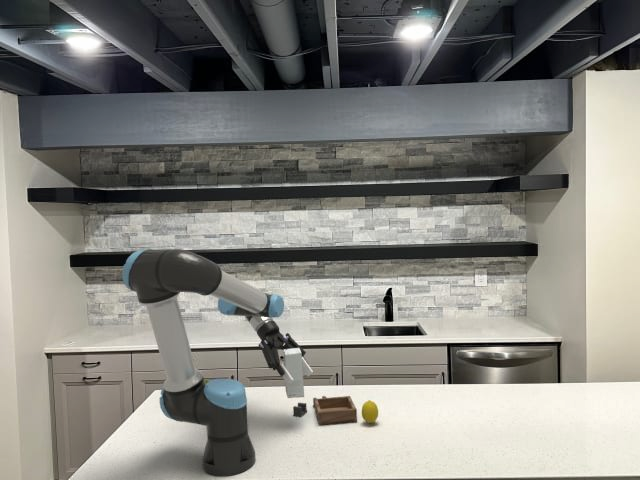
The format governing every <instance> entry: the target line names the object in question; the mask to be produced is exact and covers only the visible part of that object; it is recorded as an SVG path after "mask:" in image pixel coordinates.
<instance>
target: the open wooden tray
mask: <svg viewBox="0 0 640 480" xmlns="http://www.w3.org/2000/svg"><path fill="white" fill-rule="evenodd" d="M314 400H315V409H314V411H315V413H314V414H315V417H316V419H317V424H318V426H319V427H323V426H325V427H326V426H331V425H332V426H334V425H344V424H354V423H358V412H357V411H358V410H357V408H356V405H355V403H354V402H353V400H352V398H351V396H350V395H347V396H346V395H343V396H334V397H327V398H322V397H321V398H317V399H314Z"/></svg>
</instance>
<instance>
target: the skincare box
mask: <svg viewBox="0 0 640 480" xmlns="http://www.w3.org/2000/svg"><path fill="white" fill-rule="evenodd" d="M283 365H284V366H285V368H286V369H287V371H288V372H289V374H290V375H291V377H292V378H293V381H292V382H291V383H290V384H289V385H288V384H287V383H286V381H285V380H284V384H285V385H284V387H285V392H286V397H287V399H294V398H296V399H298V398H305V387H304V386H305V384H304V371H303V369H302V355H301V350H300V348H292V349H284V350H283Z"/></svg>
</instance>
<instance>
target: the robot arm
mask: <svg viewBox="0 0 640 480" xmlns="http://www.w3.org/2000/svg"><path fill="white" fill-rule="evenodd" d="M122 281H123V283H124V285H125V287H126V288H127V289H128V290H130V291H132V292H135V293H136V297H137V300H138V303H139V304H140V305H143V306H144V307H146V310H147V315H148V316H149V321H150V324H151V327H152V331H153V334H154V338H155V341H156V342H155V343H156V345H157V349H158V352H159V355H160V358H161V359H160V360H161V363H162V367H163V370H164V374H165V376H166V379H165V380H164V382H163V387H162V389H161V391H160V397H159V407H160V410H161V411H162V413H163V414H164V416H165V417H166V418H169V419H170V420H173V421H176V422H180V423H188V424H189V423H190V424H194V425H201V426H205V427H206V436H207V437H206V438H207V439H206V443H205V447H204V451H203V454H202V455H203V456H202V460H201V461H202V469H203V471H204V472H206V474H209V475H211V476H212V475H213V476H217V477H219V476H220V477H224V476H233V475H237V474H240V473H243V472H245V471H247V470H250V469H251V467H253V466H254V465H255V462H256V460H257V459H256V451H255V447H254V445H253V443H252V441H251V438H250V435H249V428H248V427H249V425H248V407H247V403H248V398H247V394H246V388H245V386H244V384H243V383H241V382H240V381H239V380H236V379H233V378H214V379H210V381H209V382H207V383H205V381H204V380H205V378H204V373H203V371H201V370H200V369H197V368H196V364H195V360H194V356H193V353H192V350H191V344H190V342H189V337H188V334H187V331H186V326H185V322H184V318H183V314H182V311H181V308H180V303H179V299H178V297H179V295H181V294H180V293H191V294H192V293H193V294H198V295H200V296H204V297H207V296H212V297H214V298H217V299H218V300H217V309H218V311H219V312H220V314H222V315H224V316H225V315H226V316H237V317H238V316H240V317H245V318H246V320H247V321H248V323H249V324H250V325H251V327H252V329H253V330H254V331H255V332H256V335H257V337H258V338H259V339H260V340H261V341H260V342H259V343H258V345H257V346H258V348H259V349H260V350H261V352H262V354H263V357H264V359H265V362H266V364H267V366H268V368H269V369H271V370H273V371H276V372H277V374H279V376H281V377H282V378H283V380H284V382H285V381H286V383H287V384H288V385H289V384H290V383H291V382H292V381H293V378H292V377H291V375H290V374H289V372H288V371H287V369H286V368H285V366H284V363H281V361H280V356H279V351H278V349H281V350H284V349H292V348H300V350H301V355H302V370H303V373H305V375H306V377H307V378H309V377H310V376H311V375H312V373H313V372H314V371H313V369H312V368H311V366H310V365H309V362H308V360H307V359H306V358H305V355H306V354H307V352H306V351H305V350H304V349H303V348H302V346H300V345H299V343H297V341H296V340H294V338H292V337H291V334H290V333H289V332H287V333H285V334H282V333H281V332H280V327H279V325H278V324H277V322H276V321H275V320H274V318H279V317H281V316H282V314H284V309H285V301H284V298H283V297H282V296H281V295H279V294H269V293H267V292H265V291H263V290H261V289H259V288H256V287H254V286H252V285H250V284H249V283H246V282H245V281H243V280H241V279H239V278H237V277H235V276H233V275H231V274H229V273H227V272H225V271H223V270H222V268H221V266H220V264H218V263H216V262H213V261H212V260H210V259H208V258H207V257H204V256H202V255H199V254H197V253H194V252H192V251H188V250H186V249H180V248H171V249H170V248H168V249H167V248H165V249H153V248H148V249H147V248H146V249H143V250H142V249H141V250H136V251H134V252H133V253H132V254H130V256H128V257H127V259H126V261H125V264H123V268H122Z"/></svg>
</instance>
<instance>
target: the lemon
mask: <svg viewBox="0 0 640 480" xmlns="http://www.w3.org/2000/svg"><path fill="white" fill-rule="evenodd" d="M361 416H362V417H361V418H362V419H363V420H364V421H365V422H366V423H368V424H369V425H371V424H373V423H374V422H376V420H377V419H378V417H379V408H378V406H377V404H376V403H375V402H374V401H372V400H369V399H368V401H365V402H364V403H363V404H362V407H361Z"/></svg>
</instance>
